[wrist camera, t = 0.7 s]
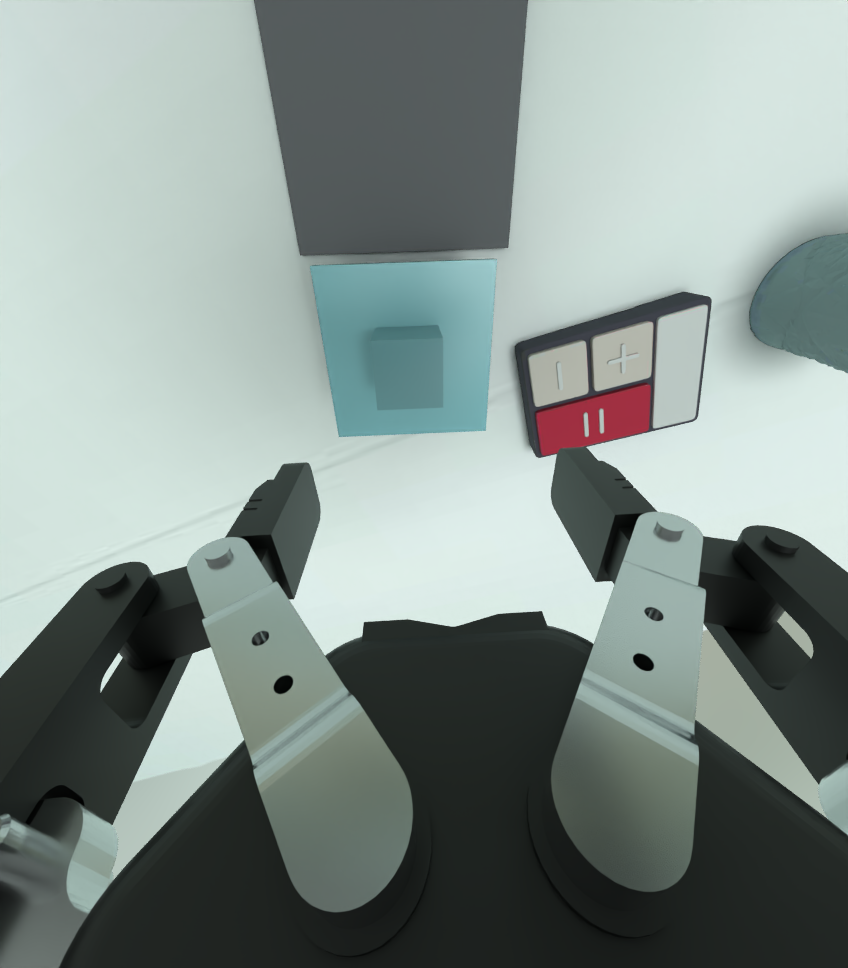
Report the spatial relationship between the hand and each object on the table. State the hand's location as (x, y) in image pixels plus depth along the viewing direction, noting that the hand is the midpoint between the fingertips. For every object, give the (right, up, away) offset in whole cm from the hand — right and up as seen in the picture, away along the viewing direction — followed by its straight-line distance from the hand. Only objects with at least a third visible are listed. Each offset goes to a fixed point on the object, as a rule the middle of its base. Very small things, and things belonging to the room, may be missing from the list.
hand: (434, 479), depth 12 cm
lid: (-1, +10, +15) cm, 18 cm away
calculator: (+17, +10, +24) cm, 31 cm away
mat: (-2, +25, +13) cm, 28 cm away
